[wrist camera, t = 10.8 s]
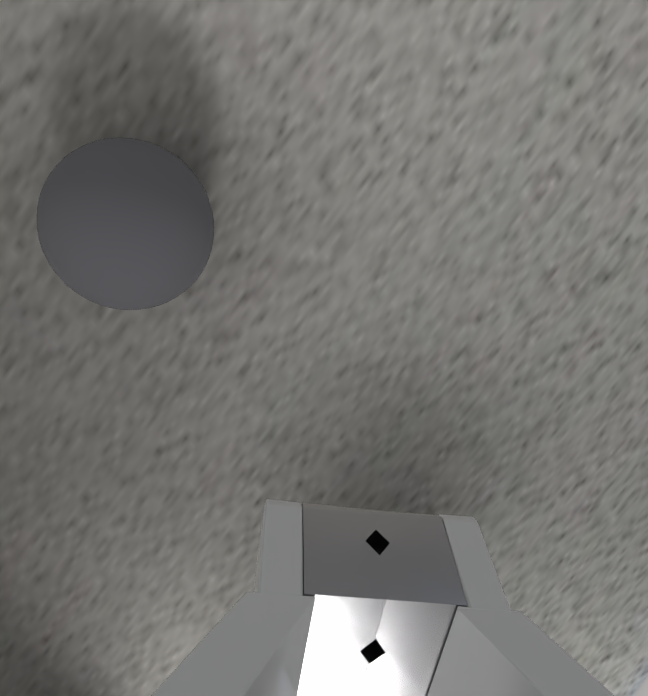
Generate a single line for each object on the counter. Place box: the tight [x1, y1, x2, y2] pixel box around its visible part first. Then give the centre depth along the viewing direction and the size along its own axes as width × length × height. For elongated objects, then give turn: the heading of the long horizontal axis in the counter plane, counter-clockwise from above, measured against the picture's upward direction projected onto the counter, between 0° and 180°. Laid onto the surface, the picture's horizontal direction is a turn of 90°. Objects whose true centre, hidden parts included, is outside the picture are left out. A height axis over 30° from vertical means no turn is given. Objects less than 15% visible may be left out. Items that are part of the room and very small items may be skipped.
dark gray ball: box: [37, 138, 214, 310], centre depth 20 cm, size 6×6×6 cm
